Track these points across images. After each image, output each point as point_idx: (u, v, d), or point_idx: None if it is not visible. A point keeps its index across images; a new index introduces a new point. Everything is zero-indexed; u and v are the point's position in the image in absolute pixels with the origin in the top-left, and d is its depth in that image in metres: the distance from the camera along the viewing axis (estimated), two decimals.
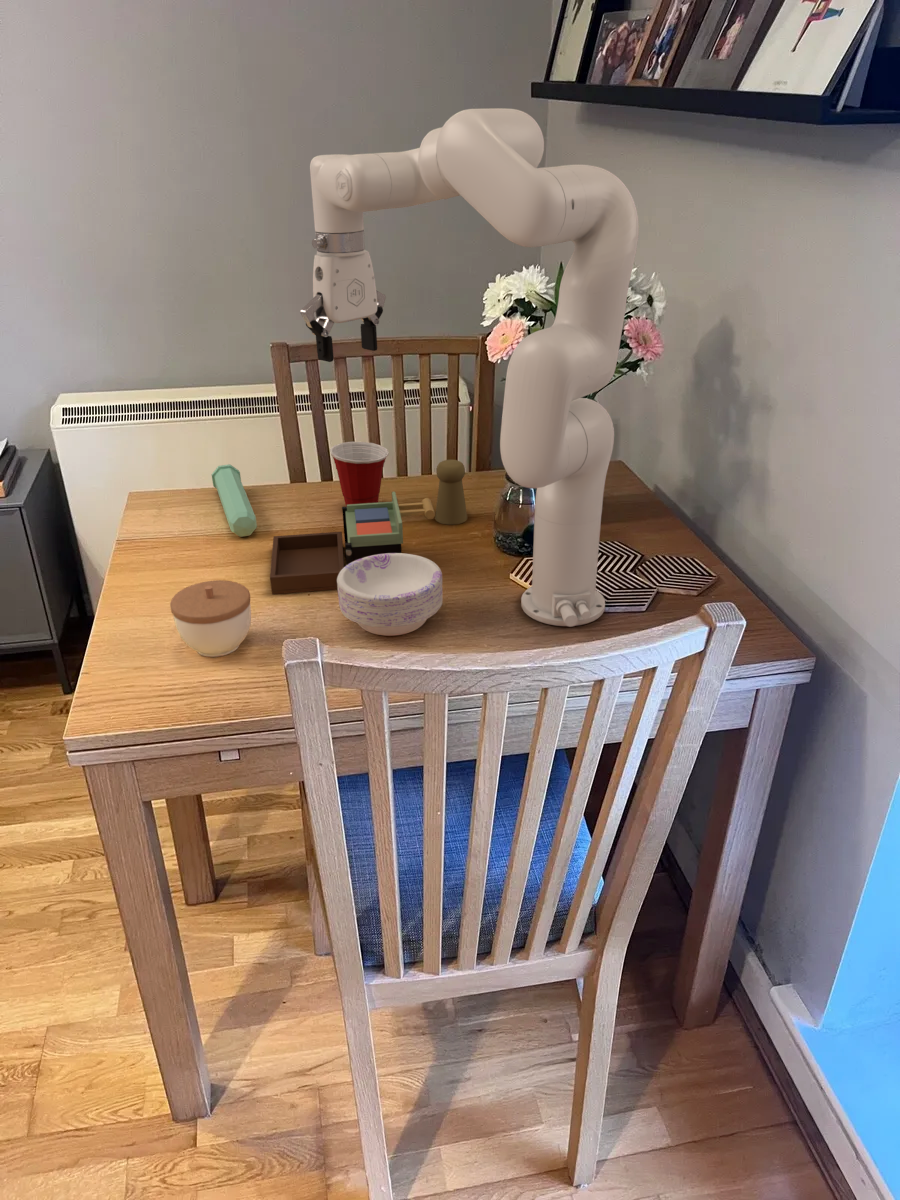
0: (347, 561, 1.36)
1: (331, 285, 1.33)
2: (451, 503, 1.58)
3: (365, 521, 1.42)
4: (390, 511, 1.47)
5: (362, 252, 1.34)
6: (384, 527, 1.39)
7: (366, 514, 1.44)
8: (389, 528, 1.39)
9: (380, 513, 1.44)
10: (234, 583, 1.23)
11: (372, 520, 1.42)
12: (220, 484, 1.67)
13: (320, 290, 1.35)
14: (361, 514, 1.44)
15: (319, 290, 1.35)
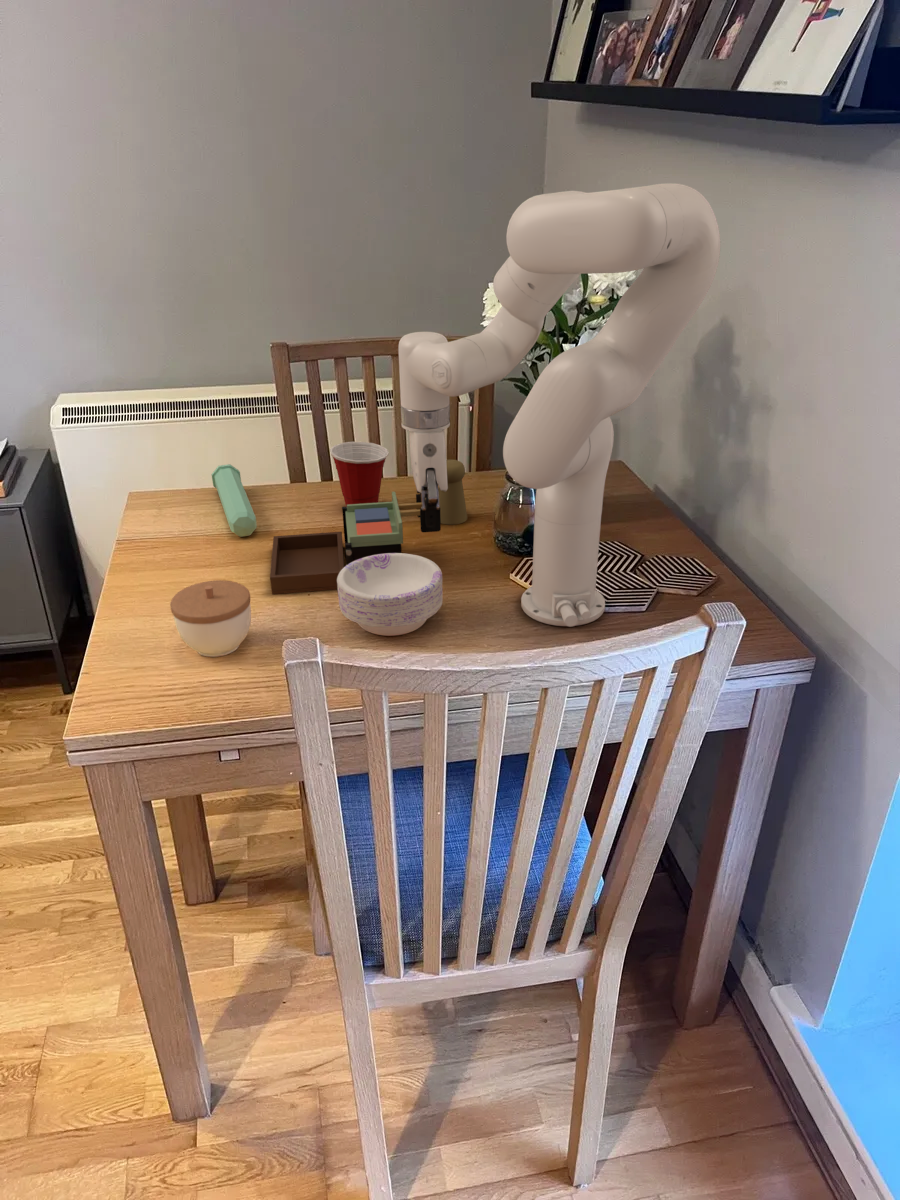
0: (347, 561, 1.36)
1: (445, 458, 1.33)
2: (452, 503, 1.58)
3: (365, 521, 1.42)
4: (390, 511, 1.47)
5: None
6: (384, 527, 1.39)
7: (366, 514, 1.44)
8: (389, 528, 1.39)
9: (380, 513, 1.44)
10: (234, 583, 1.23)
11: (372, 520, 1.42)
12: (220, 484, 1.67)
13: (432, 466, 1.33)
14: (361, 514, 1.44)
15: (431, 465, 1.33)
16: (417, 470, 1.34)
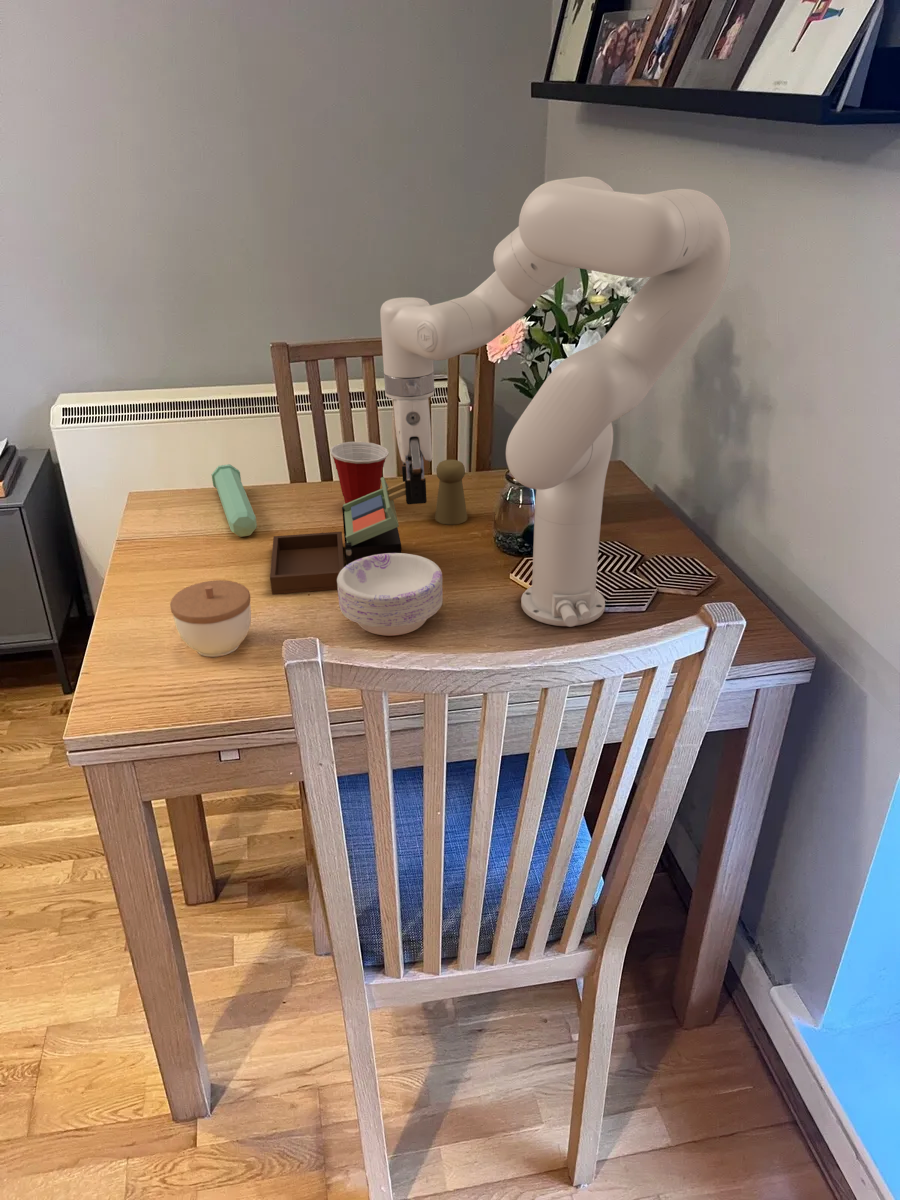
0: (347, 561, 1.36)
1: (429, 426, 1.31)
2: (452, 503, 1.58)
3: (361, 516, 1.42)
4: None
5: None
6: (378, 516, 1.38)
7: (361, 508, 1.43)
8: (382, 516, 1.38)
9: (374, 503, 1.43)
10: (234, 583, 1.23)
11: (367, 512, 1.41)
12: (220, 484, 1.67)
13: (416, 434, 1.31)
14: (357, 510, 1.43)
15: (415, 434, 1.30)
16: (401, 439, 1.31)
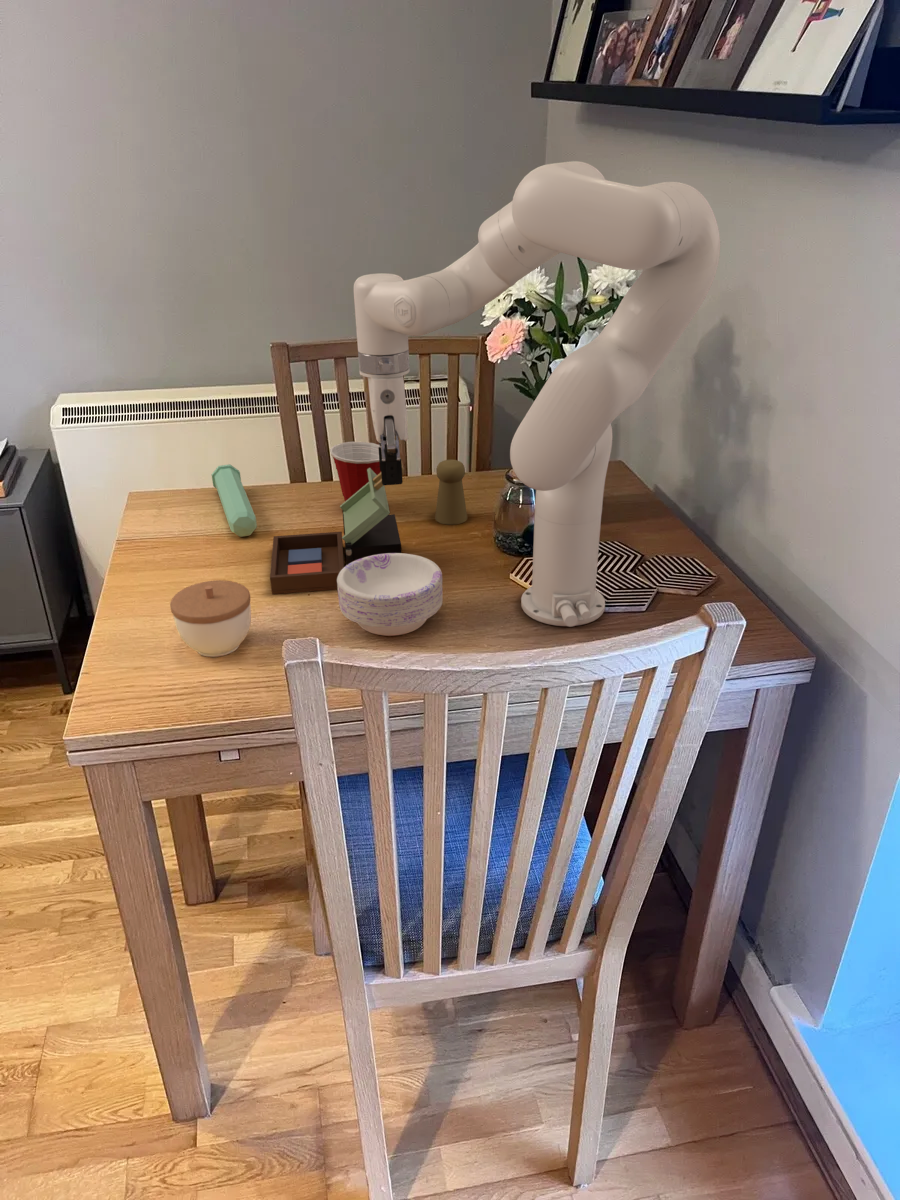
0: (347, 561, 1.36)
1: (404, 405, 1.29)
2: (452, 503, 1.58)
3: (312, 562, 1.44)
4: None
5: None
6: None
7: None
8: None
9: None
10: (234, 583, 1.23)
11: (305, 563, 1.44)
12: (220, 484, 1.67)
13: (390, 413, 1.28)
14: None
15: (389, 413, 1.28)
16: (375, 418, 1.29)
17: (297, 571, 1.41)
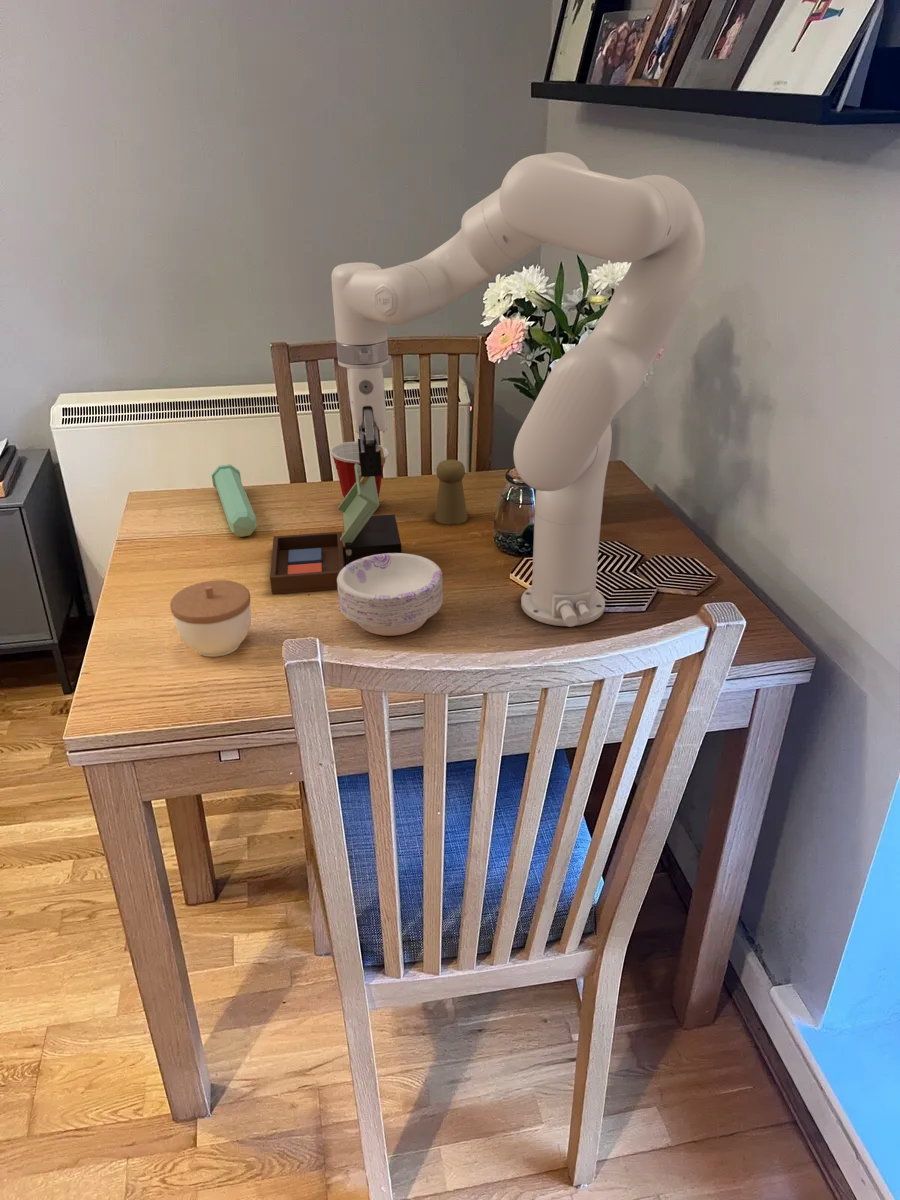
0: (347, 561, 1.36)
1: (383, 396, 1.27)
2: (451, 503, 1.58)
3: (312, 562, 1.44)
4: None
5: None
6: None
7: None
8: None
9: None
10: (234, 583, 1.23)
11: (305, 563, 1.44)
12: (220, 484, 1.67)
13: (369, 404, 1.27)
14: None
15: (368, 403, 1.27)
16: (354, 409, 1.28)
17: (297, 571, 1.41)
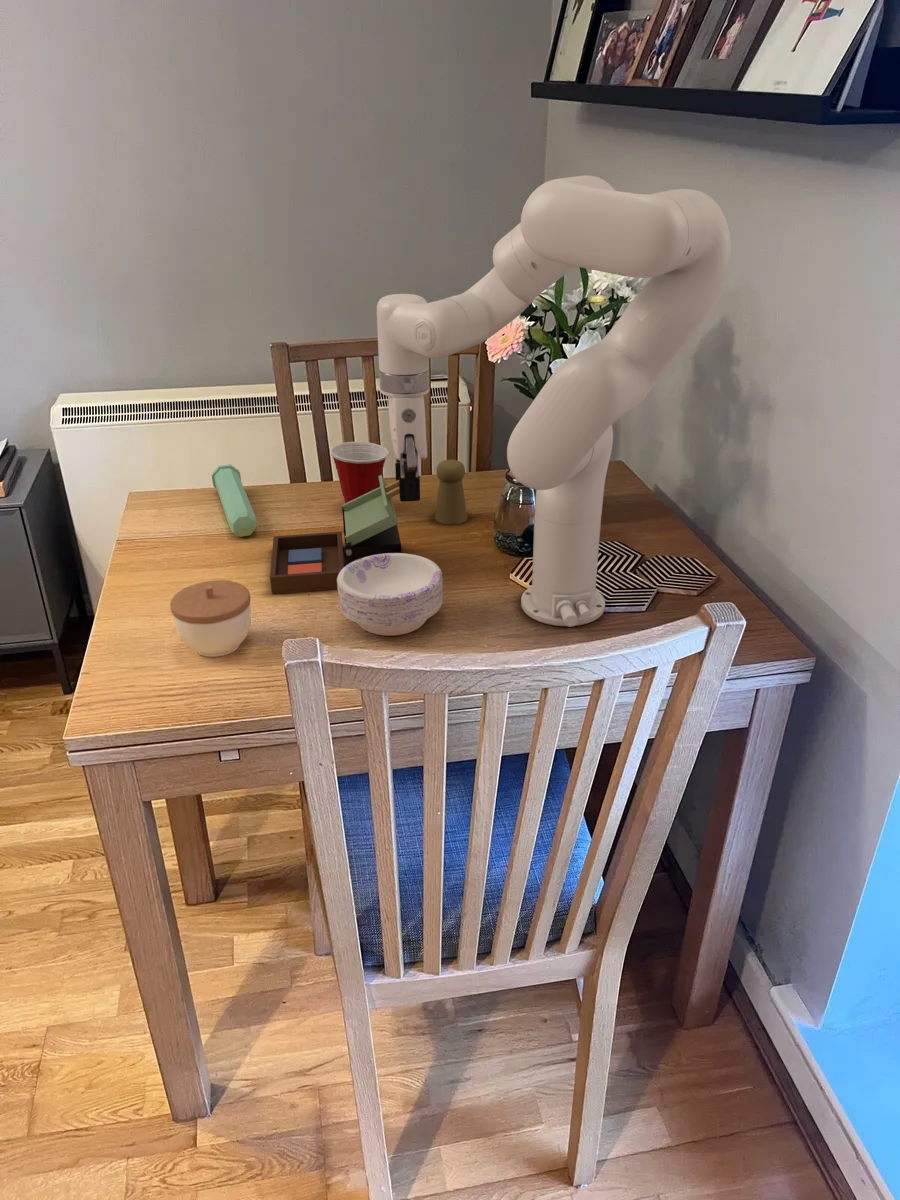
0: (347, 561, 1.36)
1: (425, 424, 1.30)
2: (451, 503, 1.58)
3: (312, 562, 1.44)
4: None
5: None
6: None
7: None
8: None
9: None
10: (234, 583, 1.23)
11: (305, 563, 1.44)
12: (220, 484, 1.67)
13: (411, 432, 1.30)
14: None
15: (410, 431, 1.30)
16: (396, 436, 1.31)
17: (297, 571, 1.41)
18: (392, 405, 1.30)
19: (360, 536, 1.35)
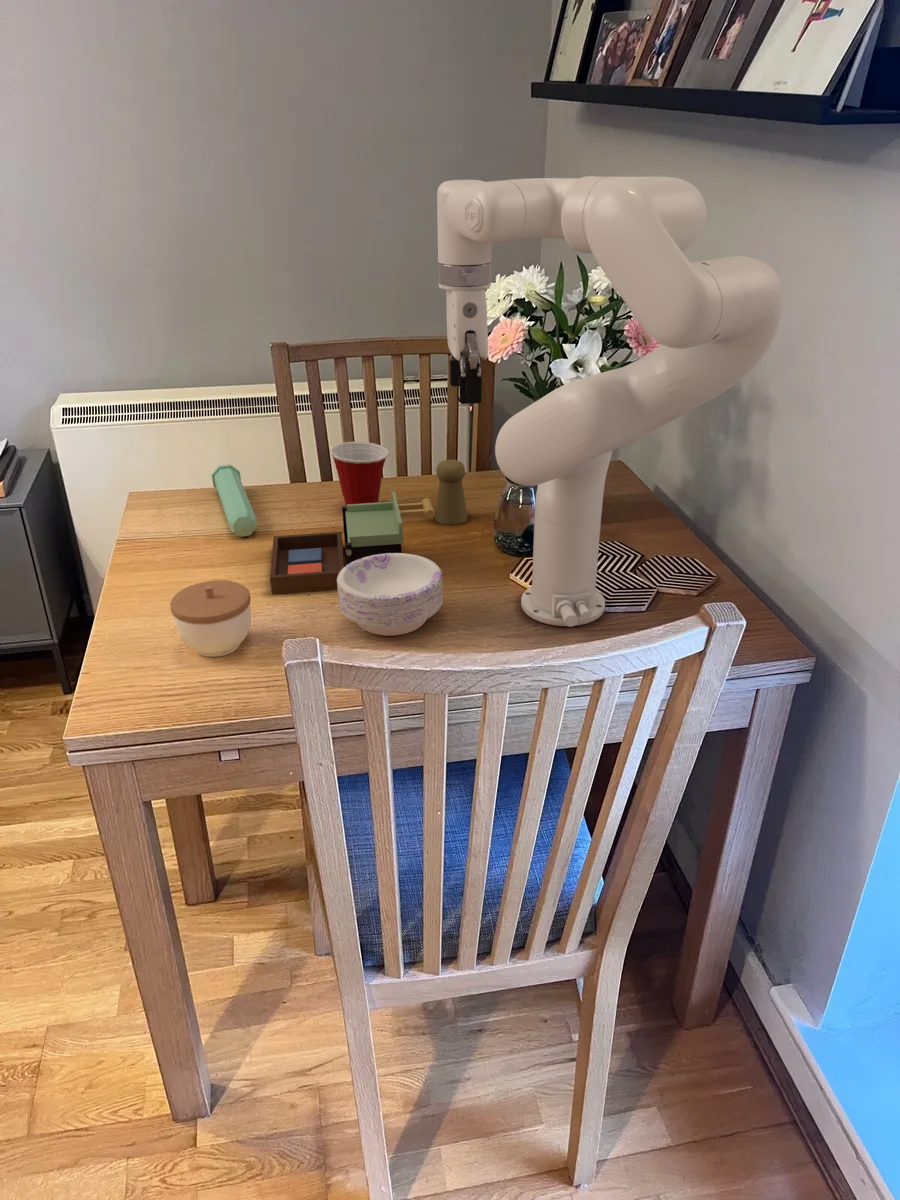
0: (347, 561, 1.36)
1: (486, 320, 1.23)
2: (452, 503, 1.58)
3: (312, 562, 1.44)
4: (390, 511, 1.47)
5: None
6: None
7: None
8: None
9: None
10: (234, 583, 1.23)
11: (305, 563, 1.44)
12: (220, 484, 1.67)
13: (472, 328, 1.23)
14: None
15: (471, 327, 1.23)
16: (456, 333, 1.24)
17: (297, 571, 1.41)
18: (452, 299, 1.23)
19: (364, 541, 1.36)
